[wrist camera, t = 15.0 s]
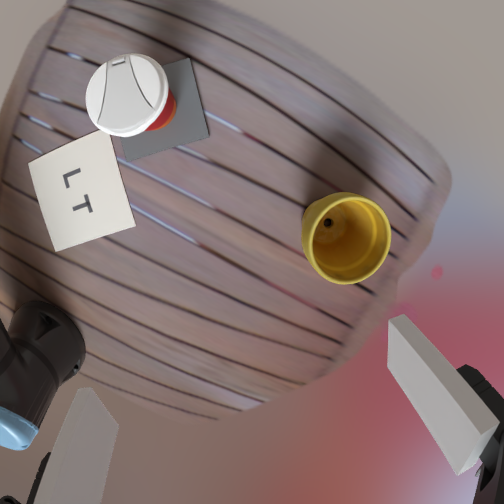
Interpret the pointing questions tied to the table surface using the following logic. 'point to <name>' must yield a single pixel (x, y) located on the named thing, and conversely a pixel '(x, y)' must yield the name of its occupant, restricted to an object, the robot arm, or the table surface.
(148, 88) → the paper cup
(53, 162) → the tile
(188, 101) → the slate coaster
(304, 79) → the table surface
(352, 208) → the plant pot
